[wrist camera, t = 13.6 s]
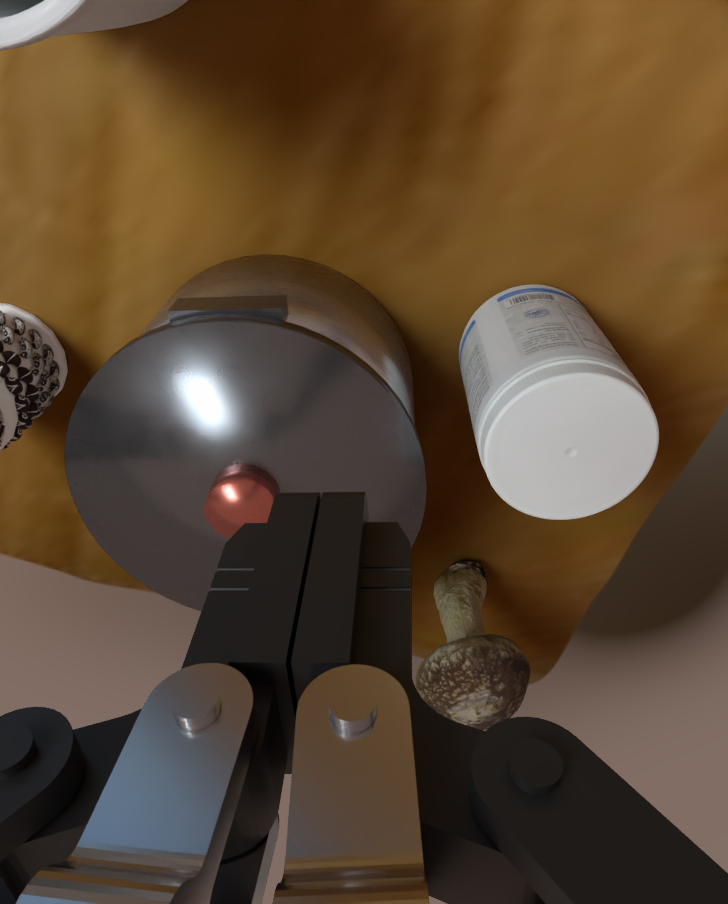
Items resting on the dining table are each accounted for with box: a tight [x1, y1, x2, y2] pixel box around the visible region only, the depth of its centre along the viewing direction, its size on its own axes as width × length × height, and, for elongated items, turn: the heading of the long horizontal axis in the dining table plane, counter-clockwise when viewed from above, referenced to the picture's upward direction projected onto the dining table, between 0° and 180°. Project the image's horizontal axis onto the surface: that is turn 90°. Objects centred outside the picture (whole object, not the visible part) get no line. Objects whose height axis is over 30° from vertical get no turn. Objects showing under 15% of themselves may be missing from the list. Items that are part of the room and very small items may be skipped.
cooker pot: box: [140, 255, 415, 426], centre depth 46 cm, size 20×21×12 cm
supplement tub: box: [459, 284, 659, 520], centre depth 42 cm, size 10×10×15 cm
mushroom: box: [415, 561, 530, 730], centre depth 54 cm, size 10×9×15 cm
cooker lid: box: [64, 314, 427, 611], centre depth 40 cm, size 21×24×3 cm
